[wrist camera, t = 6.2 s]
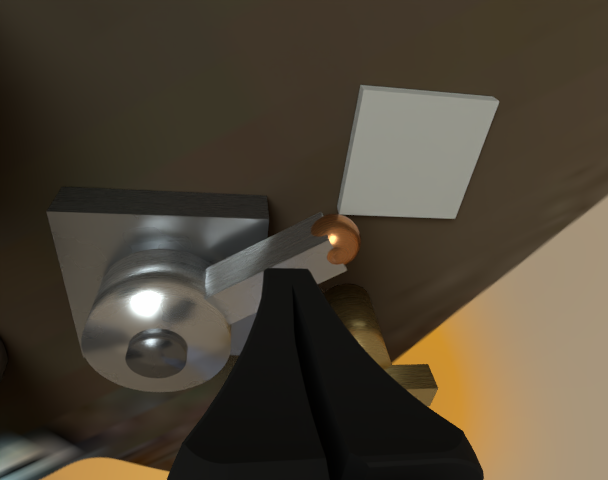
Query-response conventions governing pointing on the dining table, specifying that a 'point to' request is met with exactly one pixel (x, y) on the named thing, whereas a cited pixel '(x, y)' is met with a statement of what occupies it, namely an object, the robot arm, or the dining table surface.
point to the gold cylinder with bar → (378, 340)
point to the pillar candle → (2, 360)
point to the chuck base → (148, 235)
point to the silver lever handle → (197, 303)
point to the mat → (413, 152)
